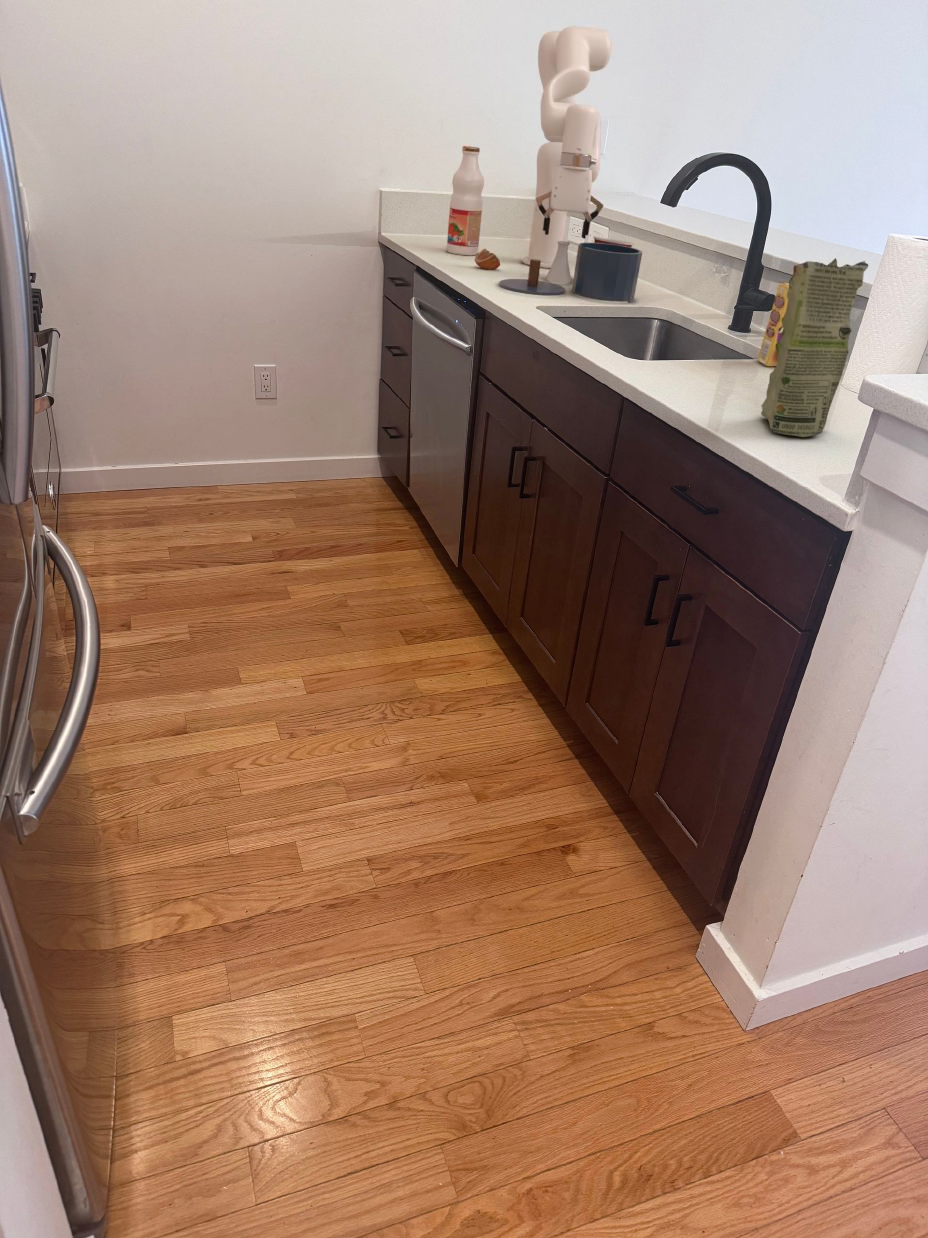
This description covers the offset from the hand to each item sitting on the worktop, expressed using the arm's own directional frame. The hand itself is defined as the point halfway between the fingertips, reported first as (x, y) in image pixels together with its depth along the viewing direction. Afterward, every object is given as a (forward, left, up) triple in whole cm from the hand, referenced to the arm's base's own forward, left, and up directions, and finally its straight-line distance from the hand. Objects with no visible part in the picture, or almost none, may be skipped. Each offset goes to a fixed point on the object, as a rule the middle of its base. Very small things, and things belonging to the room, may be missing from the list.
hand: (564, 235), depth 227 cm
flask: (-1, 0, -12) cm, 12 cm away
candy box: (+69, +39, -12) cm, 80 cm away
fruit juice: (-35, -26, -12) cm, 45 cm away
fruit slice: (-8, -19, -12) cm, 24 cm away
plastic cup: (-2, +13, -12) cm, 17 cm away
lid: (+15, -8, -11) cm, 21 cm away
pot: (+14, +10, -11) cm, 21 cm away
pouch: (+111, +27, -12) cm, 115 cm away
